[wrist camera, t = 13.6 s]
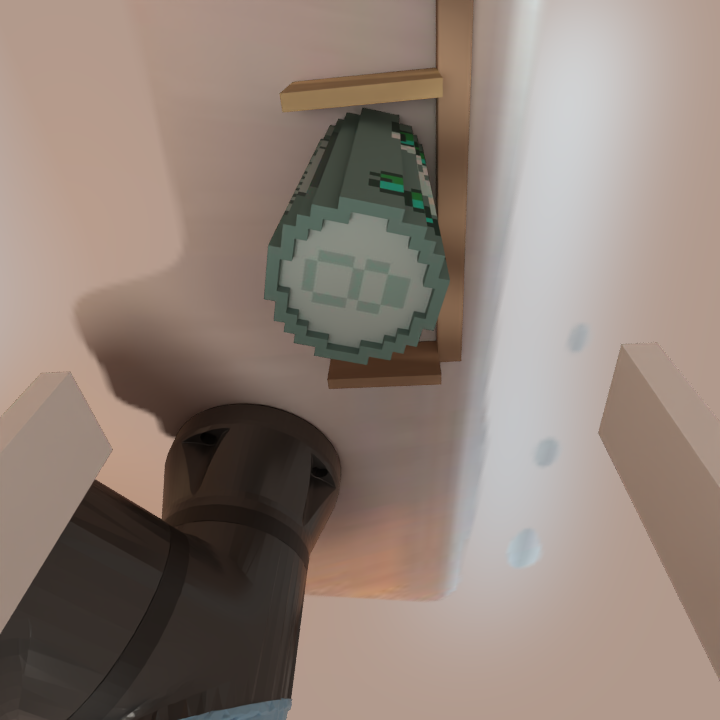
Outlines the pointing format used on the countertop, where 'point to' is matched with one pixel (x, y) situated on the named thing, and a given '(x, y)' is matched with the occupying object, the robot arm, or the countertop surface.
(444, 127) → the notch rack
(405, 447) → the countertop surface
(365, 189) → the can
